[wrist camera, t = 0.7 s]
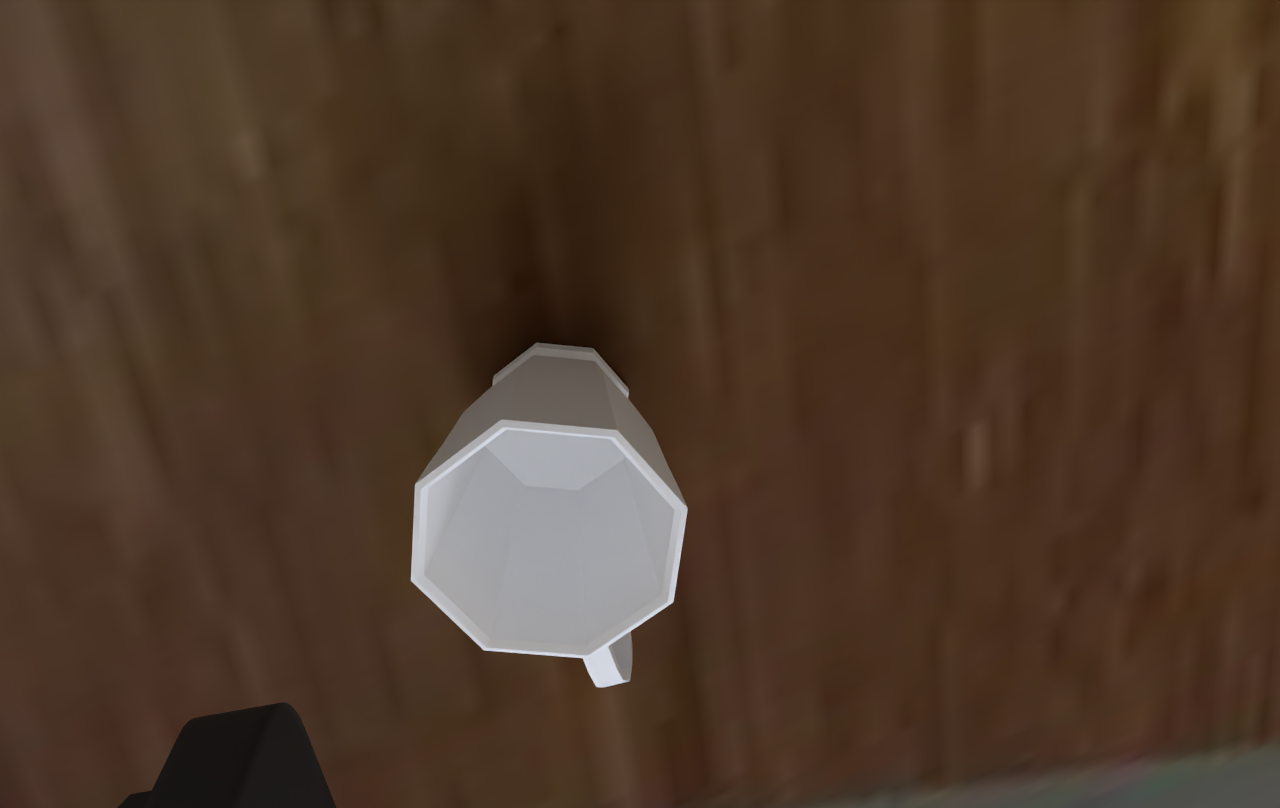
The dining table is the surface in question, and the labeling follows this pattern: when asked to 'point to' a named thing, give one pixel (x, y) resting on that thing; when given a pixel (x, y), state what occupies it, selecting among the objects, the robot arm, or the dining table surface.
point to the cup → (551, 515)
